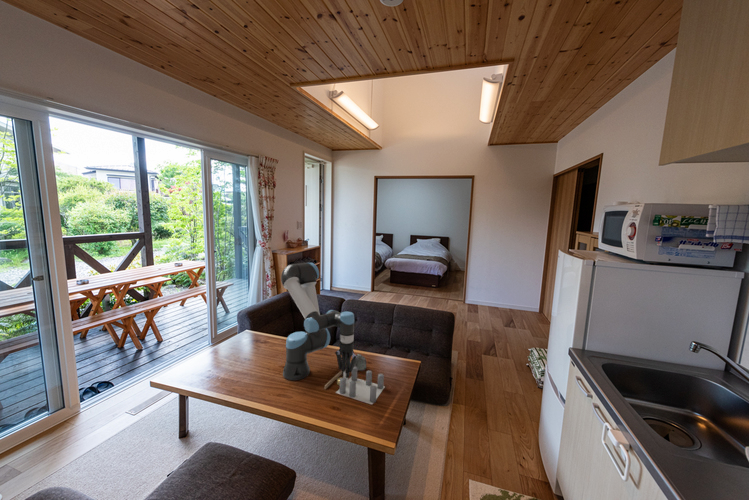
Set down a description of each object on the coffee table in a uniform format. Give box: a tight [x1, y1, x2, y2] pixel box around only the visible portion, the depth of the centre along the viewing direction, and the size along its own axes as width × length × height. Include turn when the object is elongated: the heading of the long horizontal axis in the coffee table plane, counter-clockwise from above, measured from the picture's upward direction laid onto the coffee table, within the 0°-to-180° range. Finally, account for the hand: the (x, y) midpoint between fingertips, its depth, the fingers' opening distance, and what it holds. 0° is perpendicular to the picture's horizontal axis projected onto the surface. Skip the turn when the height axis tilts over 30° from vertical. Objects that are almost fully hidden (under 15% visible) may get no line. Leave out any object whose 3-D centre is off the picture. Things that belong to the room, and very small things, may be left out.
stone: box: [350, 353, 368, 372], centre depth 174 cm, size 10×10×10 cm
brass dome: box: [336, 376, 343, 387], centre depth 157 cm, size 4×4×2 cm
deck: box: [323, 367, 386, 405], centre depth 153 cm, size 29×17×8 cm, turn 66°
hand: (345, 382), depth 156 cm, fingers closed
